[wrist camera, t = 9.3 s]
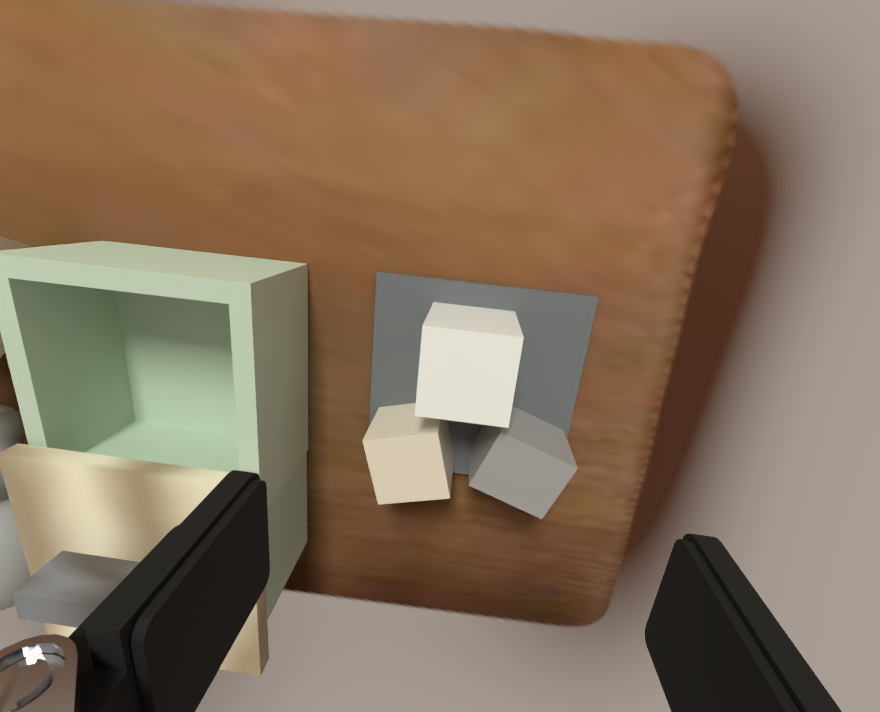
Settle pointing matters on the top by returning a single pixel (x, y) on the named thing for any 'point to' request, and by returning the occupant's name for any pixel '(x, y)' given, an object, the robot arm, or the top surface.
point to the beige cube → (409, 455)
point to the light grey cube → (522, 462)
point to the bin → (167, 365)
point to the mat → (538, 311)
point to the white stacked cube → (468, 364)
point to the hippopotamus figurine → (10, 516)
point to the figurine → (8, 244)
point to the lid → (103, 533)
